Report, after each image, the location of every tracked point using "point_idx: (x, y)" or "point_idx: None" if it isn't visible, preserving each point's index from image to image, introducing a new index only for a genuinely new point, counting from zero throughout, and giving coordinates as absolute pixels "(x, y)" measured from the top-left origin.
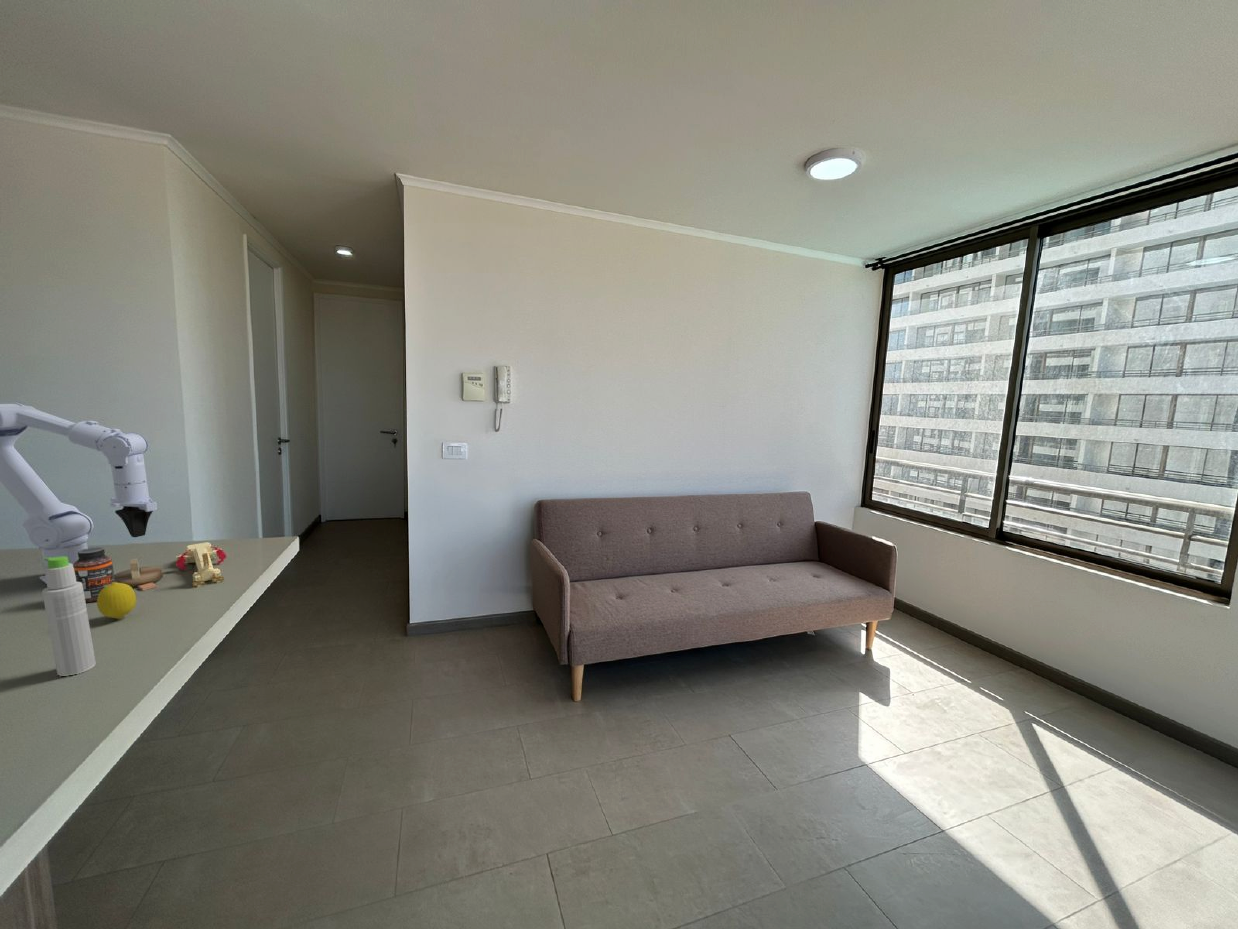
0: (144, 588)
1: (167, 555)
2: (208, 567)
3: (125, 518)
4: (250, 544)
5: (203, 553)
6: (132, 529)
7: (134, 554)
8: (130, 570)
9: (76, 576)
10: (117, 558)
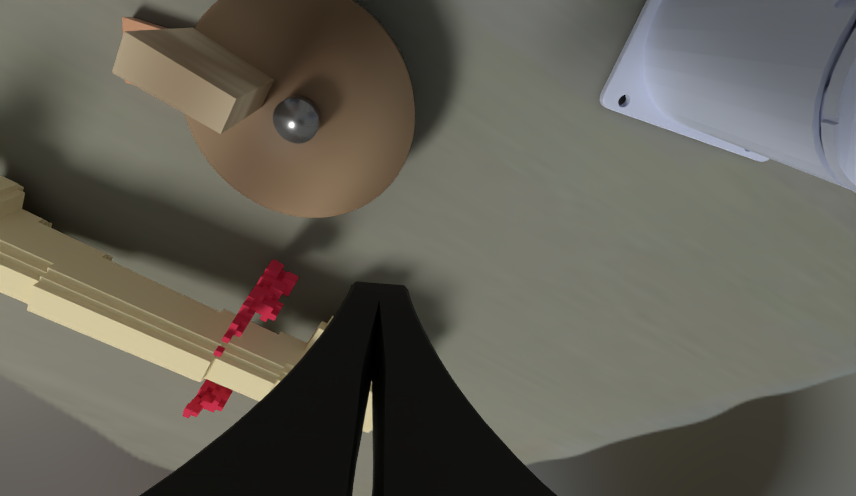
0: (126, 27)
1: (553, 354)
2: None
3: (343, 445)
4: (369, 484)
5: (151, 354)
6: (326, 329)
7: (700, 328)
8: (388, 137)
9: None
10: (732, 283)
